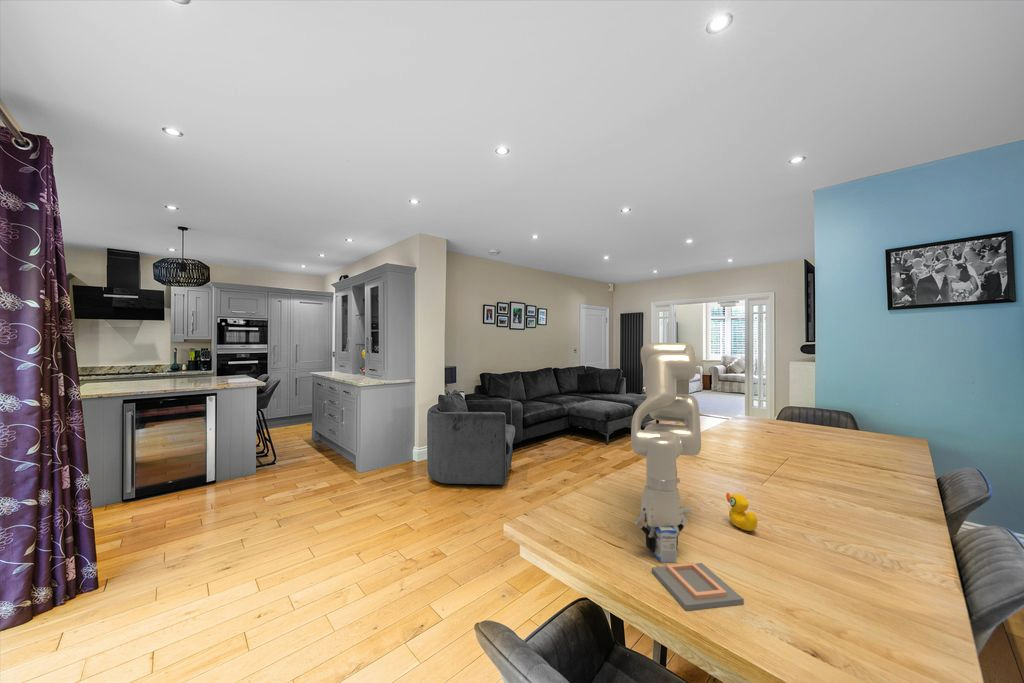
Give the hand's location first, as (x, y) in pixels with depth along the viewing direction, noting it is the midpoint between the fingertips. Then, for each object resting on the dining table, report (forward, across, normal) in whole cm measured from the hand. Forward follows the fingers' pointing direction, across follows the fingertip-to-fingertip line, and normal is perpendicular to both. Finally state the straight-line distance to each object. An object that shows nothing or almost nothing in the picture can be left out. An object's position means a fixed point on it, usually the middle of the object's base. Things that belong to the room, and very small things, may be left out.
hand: (661, 548), depth 101 cm
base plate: (+2, 0, +14) cm, 14 cm away
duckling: (+2, -34, -11) cm, 36 cm away
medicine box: (+2, 0, 0) cm, 2 cm away
